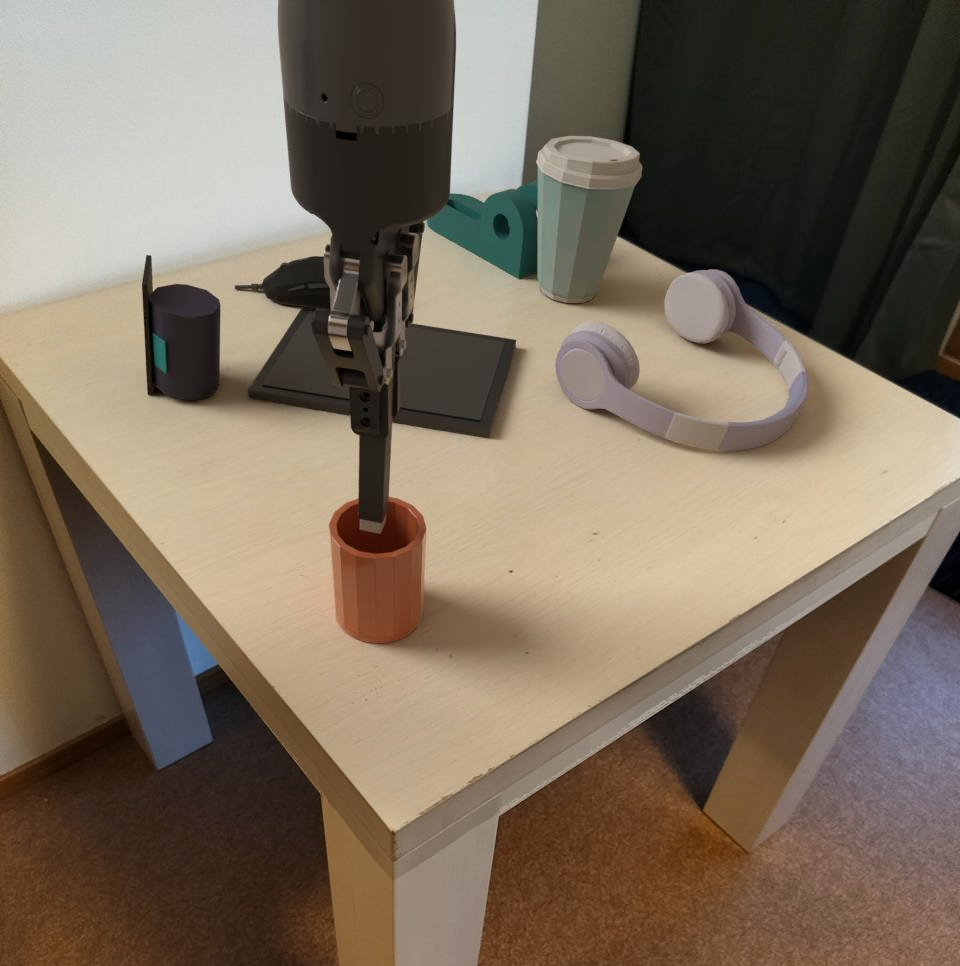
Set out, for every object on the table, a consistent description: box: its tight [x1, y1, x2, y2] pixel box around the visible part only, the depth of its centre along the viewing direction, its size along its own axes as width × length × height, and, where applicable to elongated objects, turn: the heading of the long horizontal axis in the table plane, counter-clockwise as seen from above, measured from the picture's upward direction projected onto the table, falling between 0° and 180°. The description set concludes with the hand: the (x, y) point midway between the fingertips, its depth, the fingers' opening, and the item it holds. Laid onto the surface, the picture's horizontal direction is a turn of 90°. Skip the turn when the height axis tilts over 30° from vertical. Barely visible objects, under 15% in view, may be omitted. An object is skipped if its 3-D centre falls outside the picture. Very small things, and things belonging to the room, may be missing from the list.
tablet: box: [247, 306, 517, 439], centre depth 85 cm, size 22×16×1 cm
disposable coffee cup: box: [535, 135, 643, 304], centre depth 93 cm, size 11×11×15 cm
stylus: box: [357, 343, 396, 534], centre depth 53 cm, size 2×2×13 cm
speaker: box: [141, 254, 221, 401], centre depth 78 cm, size 8×6×10 cm
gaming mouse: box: [234, 255, 331, 311], centre depth 93 cm, size 6×15×4 cm, turn 88°
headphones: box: [554, 269, 809, 451], centre depth 84 cm, size 22×7×20 cm
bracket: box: [426, 180, 538, 280], centre depth 103 cm, size 18×7×8 cm, turn 42°
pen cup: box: [328, 496, 427, 644], centre depth 61 cm, size 6×6×8 cm
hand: (376, 422), depth 52 cm, fingers closed on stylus, 1 cm apart
